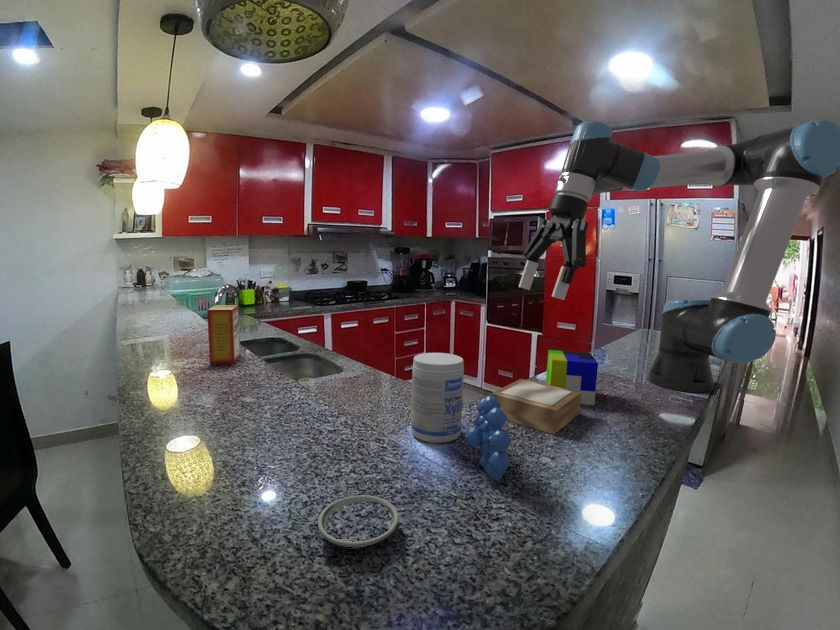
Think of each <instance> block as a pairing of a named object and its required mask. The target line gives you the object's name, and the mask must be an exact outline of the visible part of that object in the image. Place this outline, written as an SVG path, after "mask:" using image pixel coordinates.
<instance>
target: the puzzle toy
mask: <svg viewBox="0 0 840 630" xmlns="http://www.w3.org/2000/svg"><path fill="white" fill-rule="evenodd" d="M598 368H599V362H598V361H597V360H596V358H594V356H593V355H592V354H591V352H581V351H568V350H567V351H566V350H554V349H548V352H547V365H546V378H545V384H546V385H550V386H554V387H559V388H563V389H567V390H572V391H576V392H581V400H580V405H588V406H595V403H596V401H595V400H596V392H597V390H596V389H597V383H598V382H597V380H598Z"/></svg>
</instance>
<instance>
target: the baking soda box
mask: <svg viewBox="0 0 840 630" xmlns="http://www.w3.org/2000/svg"><path fill="white" fill-rule="evenodd" d="M239 309H240V307H239V304H235V305H234V304H233V305H232V304H231V305H230V304H229V305H228V304H227V305H226V304H225V305H224V304H220V305H219V304H218V305H217V304H216V305H213V306H212V307H210V308H208V309H207V310H206V311H207V312H206V313H207V329H208V330H207V333H208V335H207V336H208V349H209V365H210V364H211V365H213V364H234V363H236V361H237V360H238V359H239V358H240V356H241V339H240V338H241V334H240V333H241V332H240V310H239Z"/></svg>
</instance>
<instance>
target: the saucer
mask: <svg viewBox="0 0 840 630" xmlns="http://www.w3.org/2000/svg"><path fill="white" fill-rule="evenodd" d="M364 501H366V502H367V501H369V502H374V503H378V504H381V505H383V506H385V507H386V508H387V509H388V510H389V512H390V513H391V515H392V518H393V519H392V525H391V527H390V529H389V530H388V531H387V532H385V533H384V534H382V535H380V536H378V537H376V538H373V539H370V540H365V541H356V542H352V541H343V540H339V539H336V538H334V537H332V536H330V535H329V534H327V532H326V529H325V528H326V527H325V524H326V521H327V519H328V517H329V516H330V515H331V514H333V512H335V511H336V510H337V509H340V508H341V507H342V506H345V505H349V504H352V503H355V502H364ZM398 512H399V511H398V510H397V509H396V507H395V505H393V504H392V503H391V502H389V501H388V500H387V499H384V498H382V497H378V496H374V495H365V494H361V495H360V494H359V495H350V496H345V497H343V498H339V499H337V500H335V501H333V502H332V503H329V504H328V505H327V506H326V507H324V509H323V510H321V513H320V514H319V516H318V520H317V528H318V531H319V533H320V535H321V536H322V537H323V538H324V539H325V540H327V541H328V542H330V543H331V544H334V545H336V544H337V545H336V546H338V545H341V546H346V547H361V546H367V545H371V544H374V543H377V542H379V541H380V542H382V541H383V540H385V539H387V538H388V537H389V536H390V535H392V533H393V532H394V531H395V530H396V528H397V527H398V525H399V513H398ZM381 540H382V541H381ZM380 542H379V543H380ZM377 544H378V543H377ZM341 546H340V547H341Z"/></svg>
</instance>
